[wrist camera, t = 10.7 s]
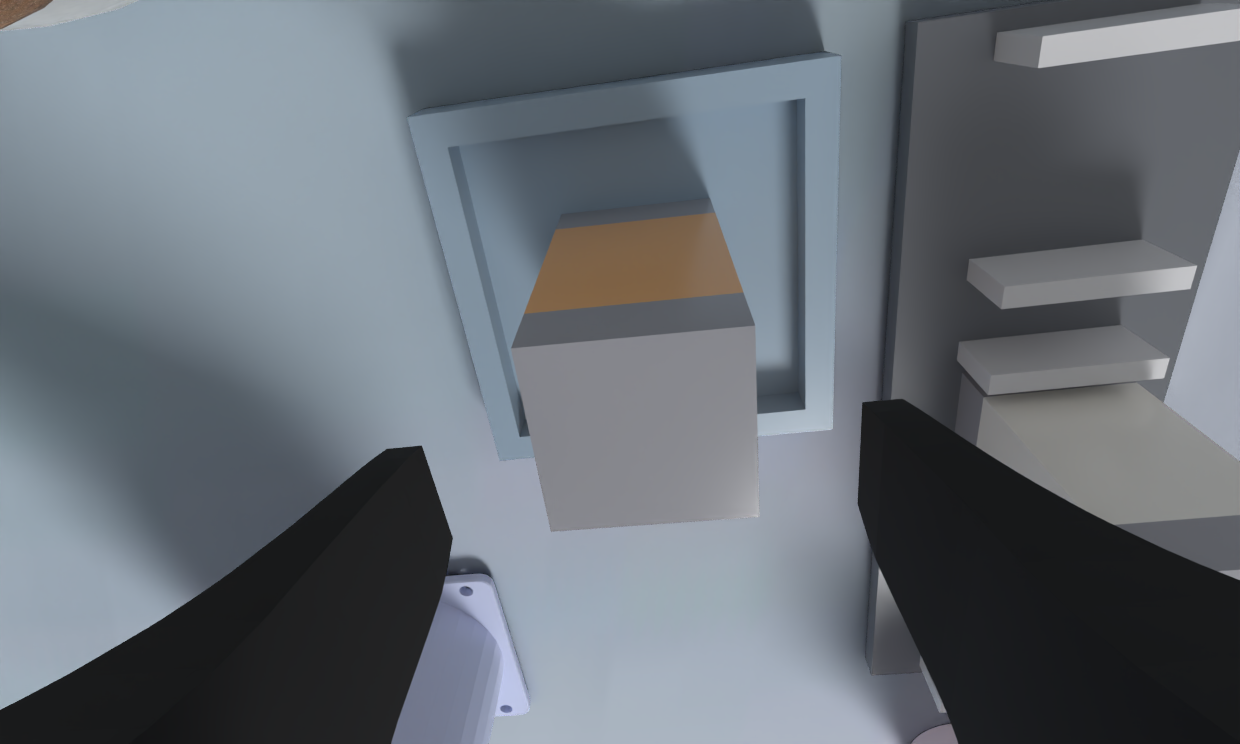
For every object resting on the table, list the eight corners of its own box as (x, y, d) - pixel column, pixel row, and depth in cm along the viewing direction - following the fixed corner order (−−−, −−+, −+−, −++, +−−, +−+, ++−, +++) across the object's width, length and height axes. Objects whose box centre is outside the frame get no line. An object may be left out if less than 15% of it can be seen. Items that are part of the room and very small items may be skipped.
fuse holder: (865, 658, 27) (887, 723, 25) (906, 21, 16) (954, 24, 14) (1073, 644, 26) (1117, 710, 24) (1264, -31, 15) (1383, -38, 13)
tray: (508, 433, 22) (499, 460, 21) (424, 108, 17) (406, 117, 16) (821, 403, 21) (832, 429, 20) (825, 51, 16) (841, 55, 15)
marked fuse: (582, 345, 20) (550, 531, 13) (561, 214, 18) (510, 348, 11) (717, 333, 20) (759, 516, 13) (710, 197, 18) (755, 325, 11)
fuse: (948, 479, 22) (1096, 709, 15) (962, 372, 20) (1139, 576, 13) (1078, 468, 21) (1294, 698, 14) (1105, 358, 19) (1369, 560, 12)
